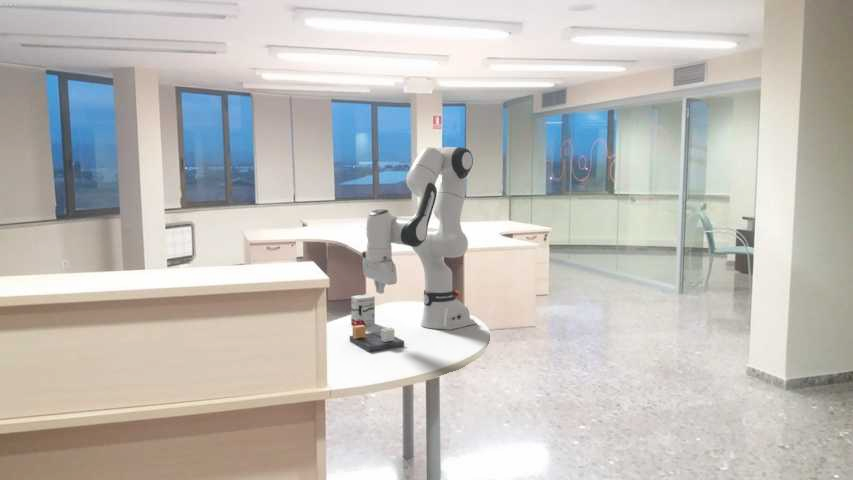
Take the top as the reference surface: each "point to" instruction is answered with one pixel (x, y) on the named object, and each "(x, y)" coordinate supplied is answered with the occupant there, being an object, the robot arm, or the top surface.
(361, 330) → the fader
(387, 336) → the fader
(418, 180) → the robot arm
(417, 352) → the top surface
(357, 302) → the ink box
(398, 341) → the console
